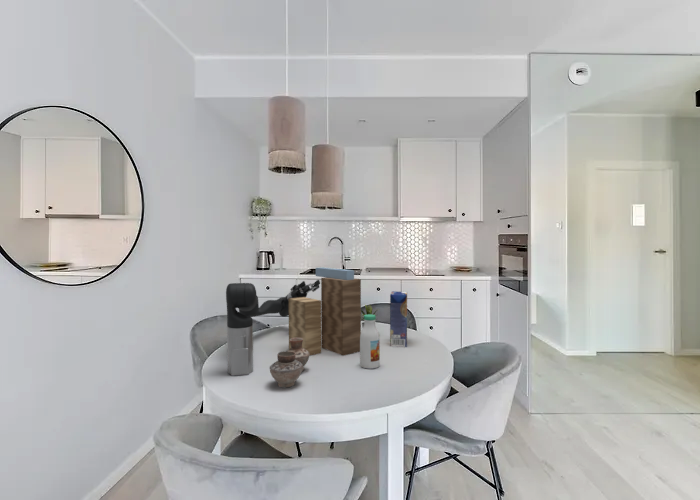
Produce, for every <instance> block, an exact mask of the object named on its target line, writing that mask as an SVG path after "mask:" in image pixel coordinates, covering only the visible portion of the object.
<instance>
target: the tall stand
mask: <svg viewBox="0 0 700 500" xmlns="http://www.w3.org/2000/svg"><path fill="white" fill-rule="evenodd" d="M320 280H321V281H320V284H321V285H320V287H321V289H320V293H321V296H320V297H321V298H320V300H321V349H324V350H326V351H330V352H332V353H335V354H338V355H340V356H347V355H352V354H357V353H360V335H361V331H362V320H361V319H362V312H361V309H362V298H361V297H362V295H361V294H362V291H361V290H362V279H360V278H354V280H342V279H334V278H326V277H321V278H320Z"/></svg>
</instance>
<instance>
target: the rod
mask: <svg viewBox="0 0 700 500" xmlns="http://www.w3.org/2000/svg"><path fill="white" fill-rule="evenodd" d="M315 277H321V278H334V279H342V280H354V279H355V269H354V270H353V269H343V268H342V269H341V268H334V267H332V268H331V267H321V266H320V267H315Z"/></svg>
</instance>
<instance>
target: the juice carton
mask: <svg viewBox="0 0 700 500" xmlns="http://www.w3.org/2000/svg"><path fill="white" fill-rule="evenodd" d="M389 296H390V300H389V304H390V305H389V309H390V310H389V311H390V312H389V315H390V316H389V317H390V319H389V321H390V322H389V326H390V327H389V336H390V337H389V338H390V339H389V342H390V345H389V346H396V347H395V348H407V346H408V291H396V290H395V291H391V292H390V295H389Z"/></svg>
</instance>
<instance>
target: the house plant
mask: <svg viewBox="0 0 700 500" xmlns="http://www.w3.org/2000/svg"><path fill="white" fill-rule="evenodd" d="M364 306H365V311H364V310H362V308H361V321H364V315H367V314H372V315H375V316H377V314H376V313H377V312H378V310H380V309H379V308H377V309H376V310H375V312H373V306H372V304H369V305H366V304H364ZM375 320H377V318H376V319H375ZM364 322H365V321H364ZM364 322H361V329H363V327H364Z"/></svg>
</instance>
